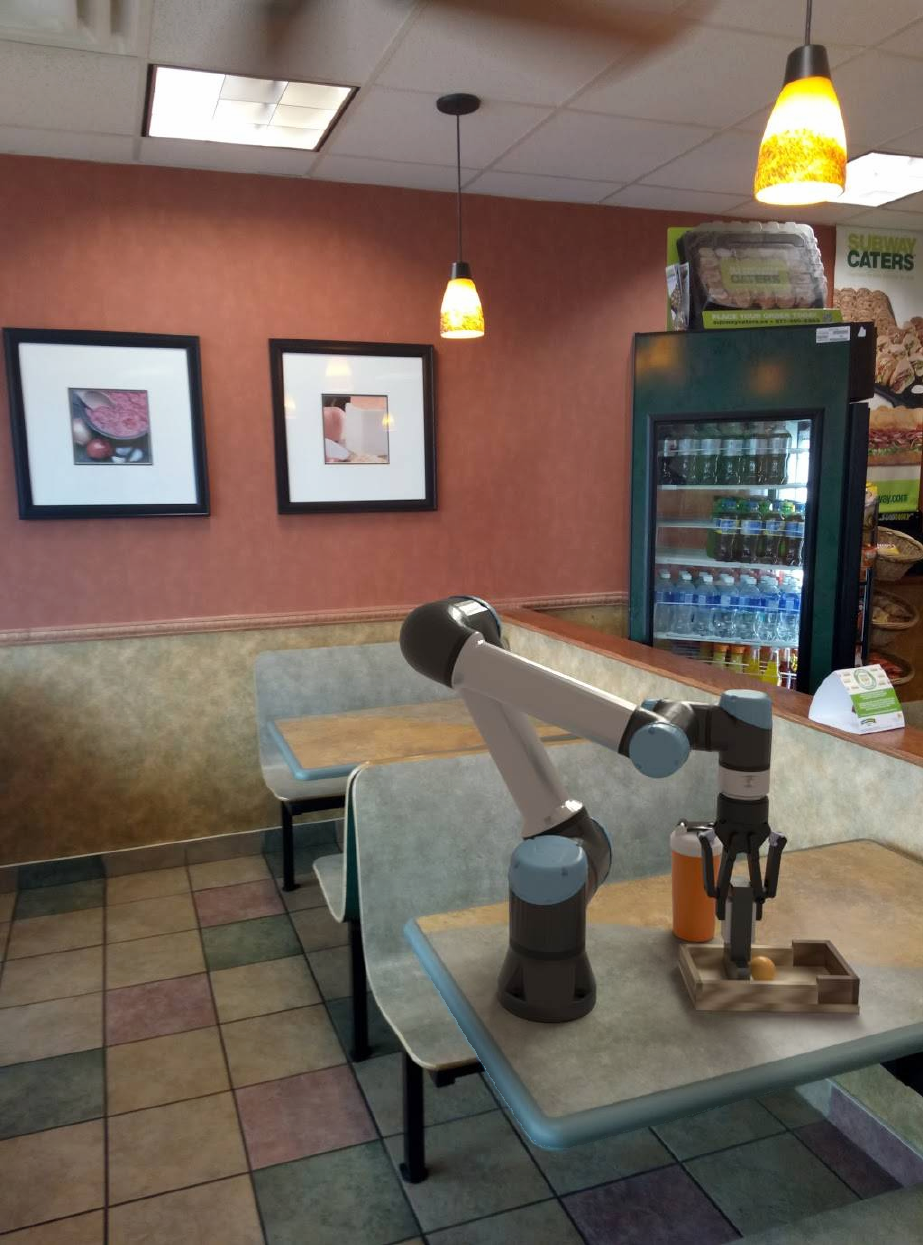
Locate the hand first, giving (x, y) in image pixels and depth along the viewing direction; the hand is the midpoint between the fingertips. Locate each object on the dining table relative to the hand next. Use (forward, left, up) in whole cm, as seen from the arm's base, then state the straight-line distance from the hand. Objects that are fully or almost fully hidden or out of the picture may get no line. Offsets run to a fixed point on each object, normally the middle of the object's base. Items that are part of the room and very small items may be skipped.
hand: (737, 938), depth 139 cm
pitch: (+4, 0, -8) cm, 9 cm away
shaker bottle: (-3, +18, -8) cm, 20 cm away
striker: (0, 0, -7) cm, 7 cm away
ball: (+4, 0, -5) cm, 6 cm away
